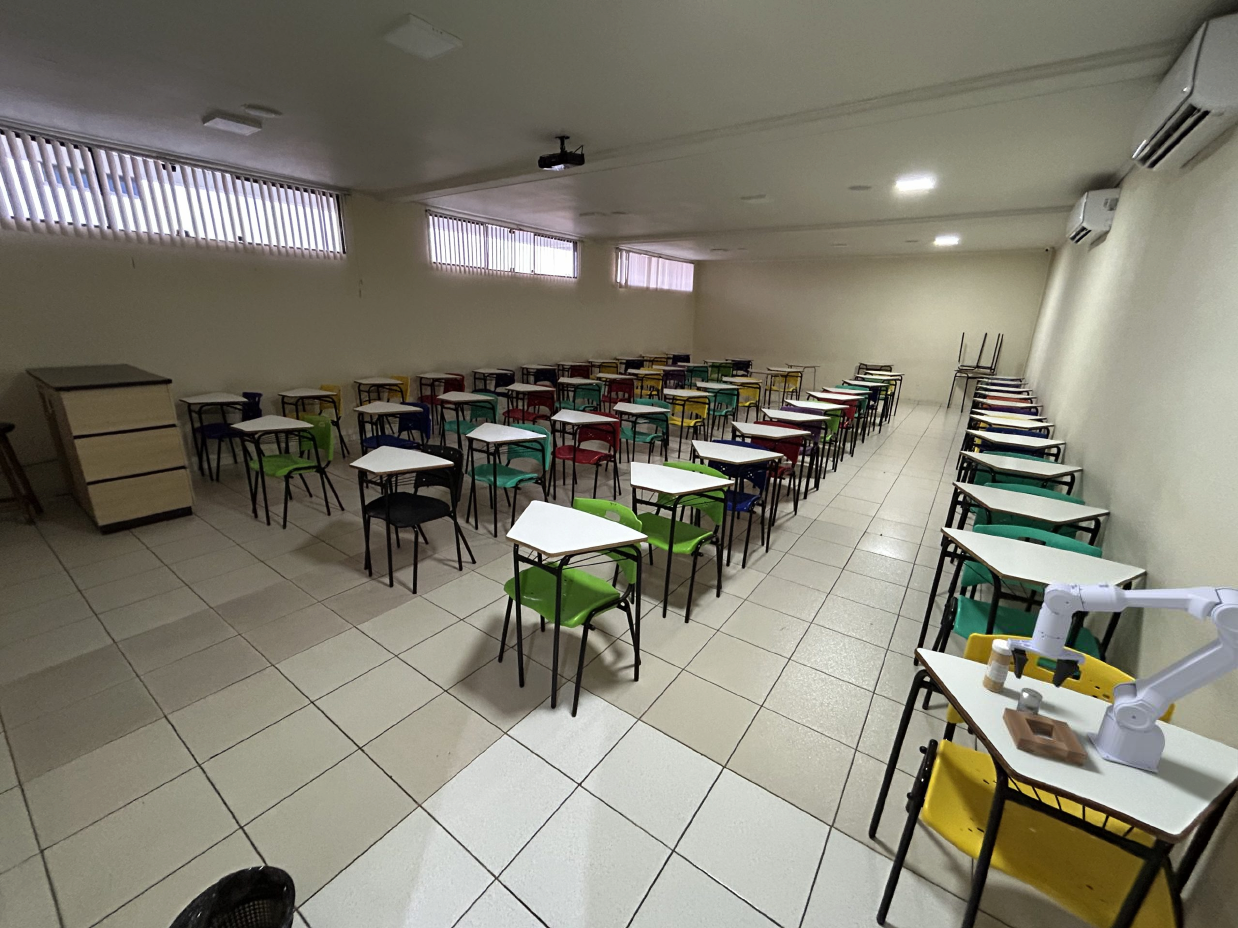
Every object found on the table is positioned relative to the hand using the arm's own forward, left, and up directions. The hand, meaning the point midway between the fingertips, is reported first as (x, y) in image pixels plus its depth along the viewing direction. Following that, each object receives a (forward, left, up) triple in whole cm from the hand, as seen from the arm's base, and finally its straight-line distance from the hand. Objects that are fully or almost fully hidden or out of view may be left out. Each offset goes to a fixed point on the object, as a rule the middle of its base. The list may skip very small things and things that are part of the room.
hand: (1036, 680), depth 121 cm
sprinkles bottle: (+5, -8, -10) cm, 14 cm away
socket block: (0, +9, -10) cm, 13 cm away
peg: (0, 0, -10) cm, 10 cm away
